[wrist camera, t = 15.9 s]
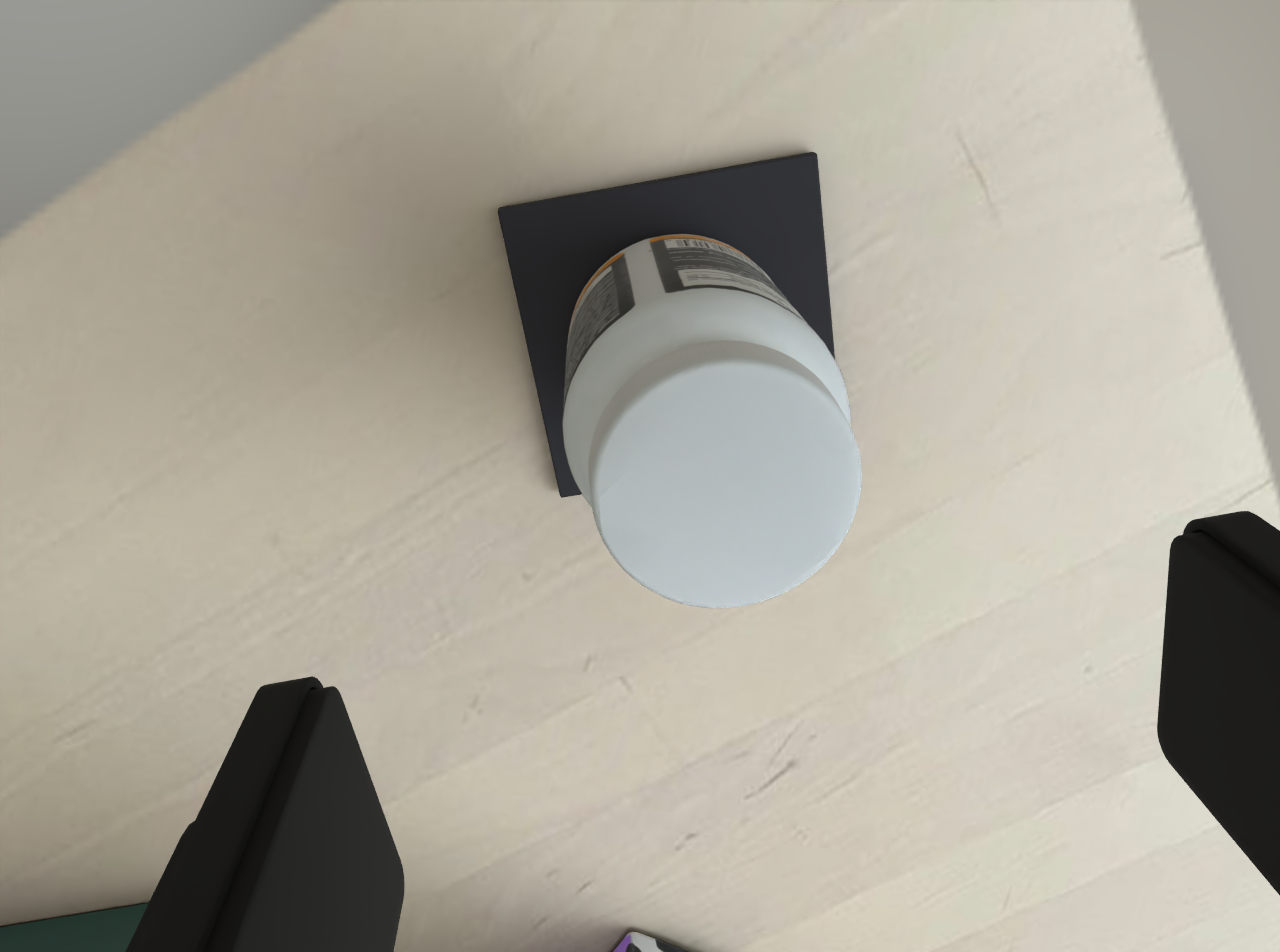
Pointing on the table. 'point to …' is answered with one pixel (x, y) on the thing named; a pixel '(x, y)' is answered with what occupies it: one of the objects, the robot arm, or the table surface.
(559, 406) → the mat
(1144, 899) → the table surface
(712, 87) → the table surface
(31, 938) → the green square frame
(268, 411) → the table surface
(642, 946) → the candy box
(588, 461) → the pill bottle
